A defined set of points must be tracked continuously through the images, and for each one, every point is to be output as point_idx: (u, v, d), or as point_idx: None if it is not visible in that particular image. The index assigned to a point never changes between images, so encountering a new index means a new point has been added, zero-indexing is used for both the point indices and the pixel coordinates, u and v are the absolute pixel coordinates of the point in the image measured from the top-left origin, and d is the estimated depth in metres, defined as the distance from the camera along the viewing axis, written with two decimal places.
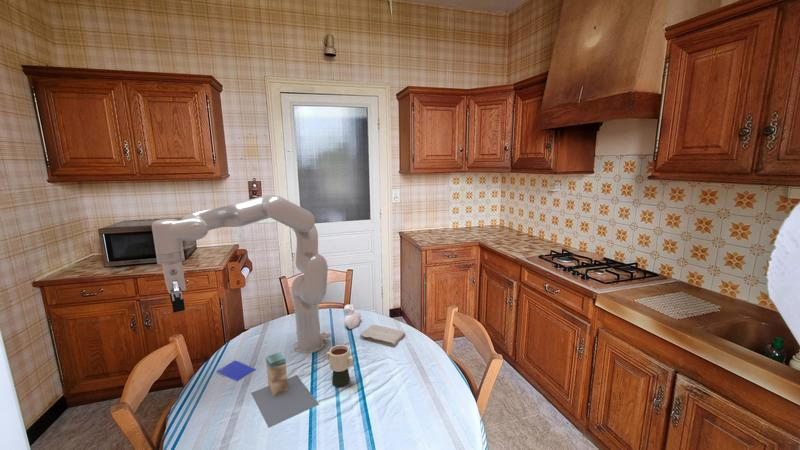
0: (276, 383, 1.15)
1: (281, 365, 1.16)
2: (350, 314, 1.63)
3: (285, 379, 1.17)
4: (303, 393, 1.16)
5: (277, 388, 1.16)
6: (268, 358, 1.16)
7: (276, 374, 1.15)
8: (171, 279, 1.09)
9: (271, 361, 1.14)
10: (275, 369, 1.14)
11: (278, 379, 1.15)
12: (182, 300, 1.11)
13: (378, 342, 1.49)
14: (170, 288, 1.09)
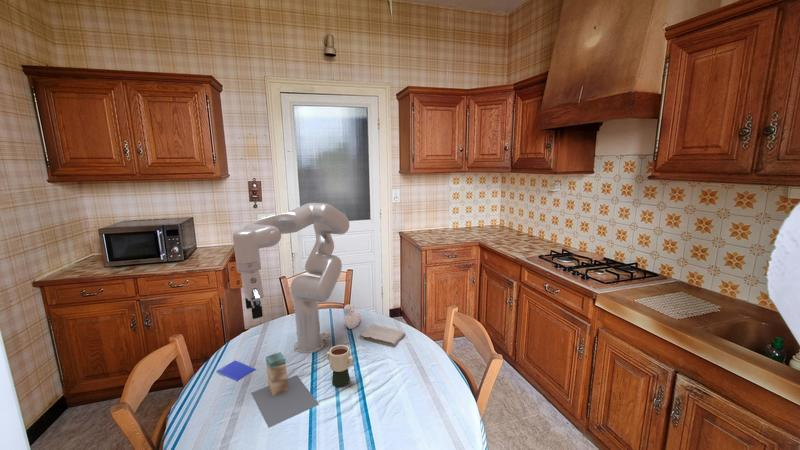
0: (276, 383, 1.15)
1: (281, 365, 1.16)
2: (350, 314, 1.63)
3: (285, 379, 1.17)
4: (303, 393, 1.16)
5: (277, 388, 1.16)
6: (268, 358, 1.16)
7: (276, 374, 1.15)
8: (251, 287, 1.13)
9: (271, 361, 1.14)
10: (275, 369, 1.14)
11: (278, 379, 1.15)
12: (260, 307, 1.15)
13: (378, 342, 1.49)
14: (250, 296, 1.13)
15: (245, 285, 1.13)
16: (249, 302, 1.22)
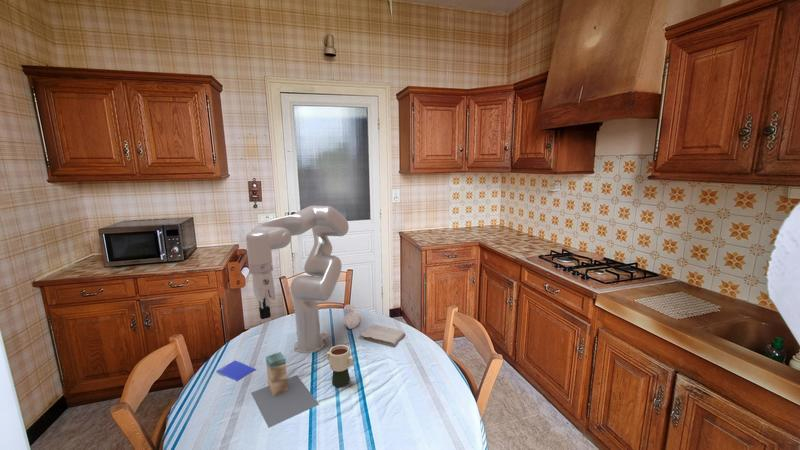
0: (276, 383, 1.15)
1: (281, 365, 1.16)
2: (350, 314, 1.63)
3: (285, 379, 1.17)
4: (303, 393, 1.16)
5: (277, 388, 1.16)
6: (268, 358, 1.16)
7: (276, 374, 1.15)
8: (264, 288, 1.14)
9: (271, 361, 1.14)
10: (275, 369, 1.14)
11: (278, 379, 1.15)
12: (269, 308, 1.20)
13: (378, 342, 1.49)
14: (262, 301, 1.15)
15: (257, 286, 1.14)
16: None
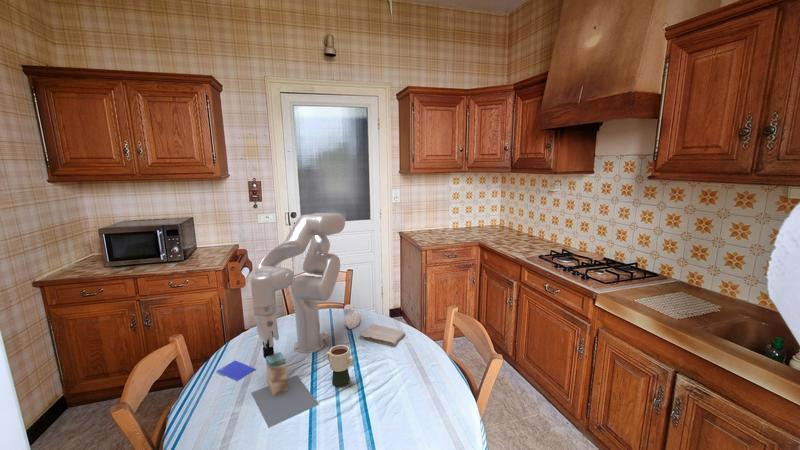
0: (276, 383, 1.15)
1: (281, 365, 1.16)
2: (350, 314, 1.63)
3: (285, 379, 1.17)
4: (303, 393, 1.16)
5: (277, 388, 1.16)
6: (268, 358, 1.16)
7: (276, 374, 1.15)
8: (268, 330, 1.16)
9: (271, 361, 1.14)
10: (275, 369, 1.14)
11: (278, 379, 1.15)
12: (272, 347, 1.22)
13: (378, 342, 1.49)
14: (266, 342, 1.18)
15: (261, 328, 1.17)
16: None
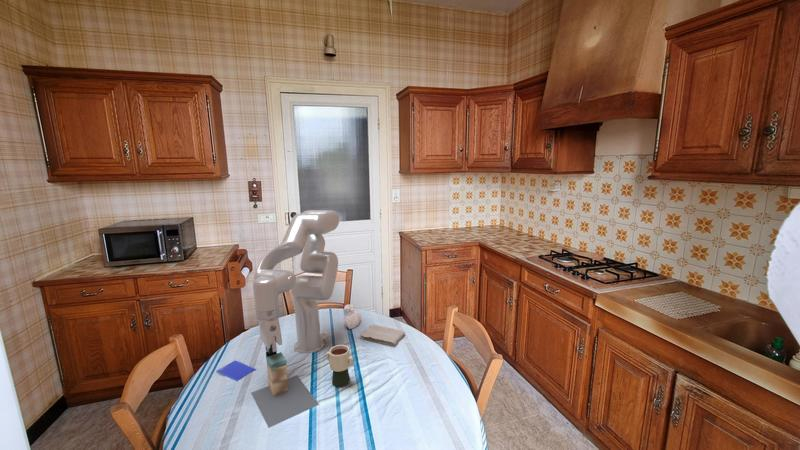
0: (276, 384, 1.15)
1: (282, 366, 1.15)
2: (350, 314, 1.63)
3: (285, 380, 1.17)
4: (303, 393, 1.16)
5: (277, 388, 1.16)
6: (269, 359, 1.15)
7: (277, 375, 1.14)
8: (271, 335, 1.14)
9: (272, 362, 1.13)
10: (276, 370, 1.14)
11: (278, 379, 1.15)
12: (275, 352, 1.20)
13: (378, 342, 1.49)
14: (269, 347, 1.15)
15: (264, 333, 1.14)
16: None
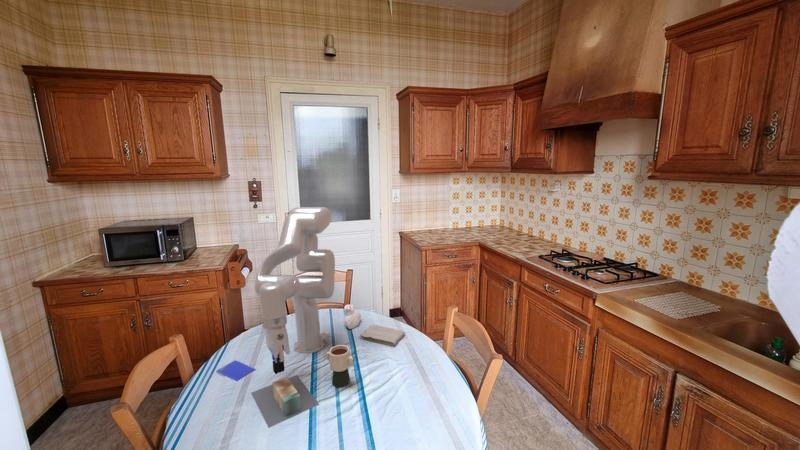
0: None
1: None
2: (350, 314, 1.63)
3: None
4: (303, 393, 1.16)
5: None
6: (286, 405, 1.05)
7: None
8: (278, 344, 1.08)
9: (287, 412, 1.06)
10: None
11: None
12: (282, 361, 1.14)
13: (378, 342, 1.49)
14: None
15: (271, 342, 1.08)
16: None
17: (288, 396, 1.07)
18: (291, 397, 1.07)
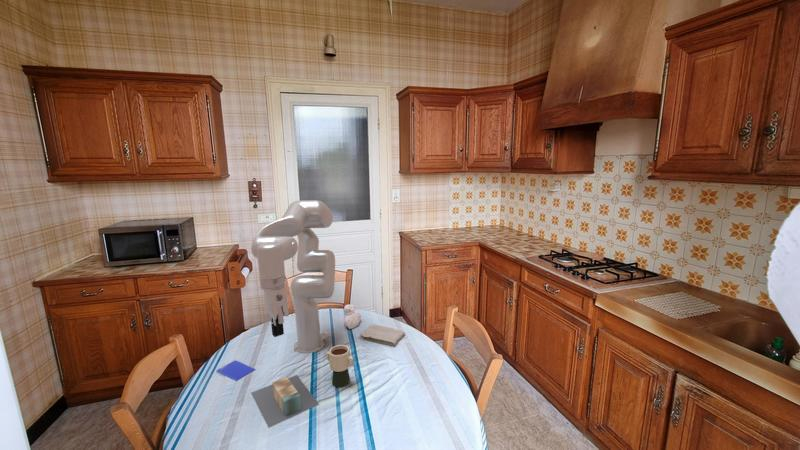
0: None
1: None
2: (350, 314, 1.63)
3: None
4: (303, 393, 1.16)
5: None
6: (286, 405, 1.05)
7: None
8: (277, 305, 1.04)
9: (287, 412, 1.06)
10: None
11: None
12: (282, 324, 1.11)
13: (378, 342, 1.49)
14: None
15: (270, 303, 1.05)
16: None
17: (288, 396, 1.07)
18: (291, 397, 1.07)
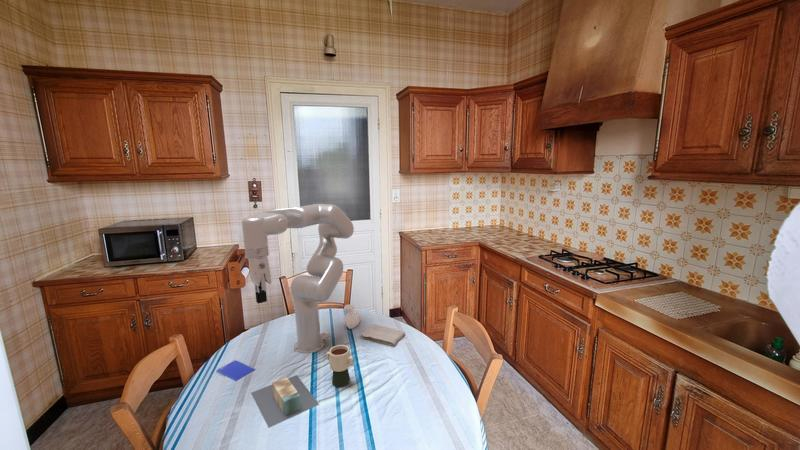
0: None
1: None
2: (350, 314, 1.63)
3: None
4: (303, 393, 1.16)
5: None
6: (286, 405, 1.05)
7: None
8: (260, 272, 1.16)
9: (287, 412, 1.06)
10: None
11: None
12: (265, 292, 1.22)
13: (378, 342, 1.49)
14: (258, 285, 1.17)
15: (253, 271, 1.16)
16: None
17: (288, 396, 1.07)
18: (291, 397, 1.07)
